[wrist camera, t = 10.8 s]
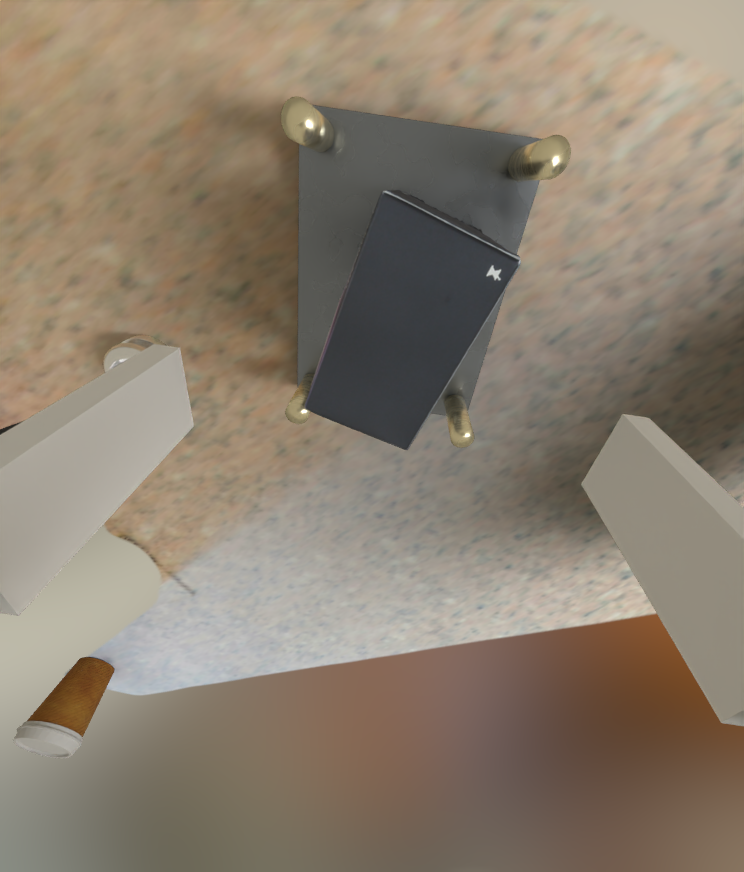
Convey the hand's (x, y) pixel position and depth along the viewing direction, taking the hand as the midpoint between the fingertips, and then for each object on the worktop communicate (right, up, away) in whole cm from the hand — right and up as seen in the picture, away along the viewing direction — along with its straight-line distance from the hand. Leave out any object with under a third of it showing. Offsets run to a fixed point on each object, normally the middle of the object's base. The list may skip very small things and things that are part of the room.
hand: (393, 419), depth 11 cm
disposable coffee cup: (-51, -42, +56) cm, 86 cm away
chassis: (+1, +10, +15) cm, 18 cm away
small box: (+1, +9, +14) cm, 17 cm away
